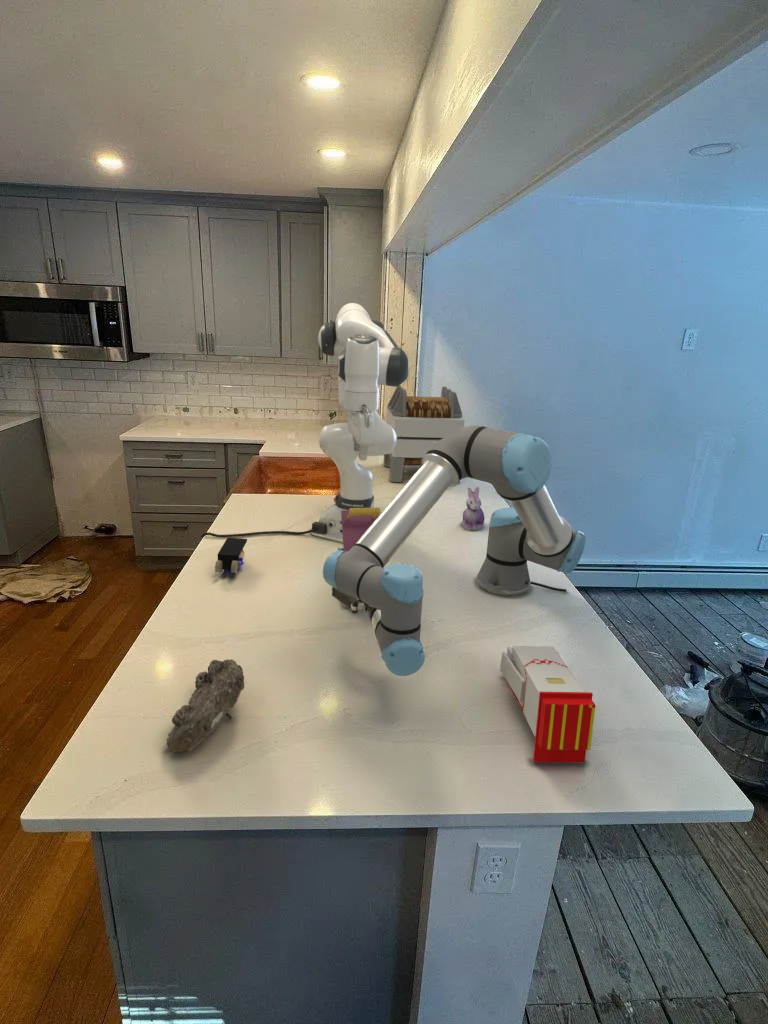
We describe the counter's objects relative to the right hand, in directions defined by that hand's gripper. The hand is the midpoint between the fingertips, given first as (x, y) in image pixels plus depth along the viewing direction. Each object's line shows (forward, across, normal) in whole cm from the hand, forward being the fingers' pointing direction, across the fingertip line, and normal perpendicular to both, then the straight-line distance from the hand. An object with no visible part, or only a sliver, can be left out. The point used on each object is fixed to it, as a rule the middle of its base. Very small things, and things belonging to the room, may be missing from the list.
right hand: (370, 572), depth 136 cm
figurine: (+64, +50, -16) cm, 83 cm away
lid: (+15, 0, +2) cm, 16 cm away
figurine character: (+37, -34, -15) cm, 53 cm away
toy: (-36, +28, -15) cm, 48 cm away
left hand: (+22, +1, +23) cm, 32 cm away
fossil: (-28, -35, -15) cm, 47 cm away
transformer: (+135, +49, -17) cm, 145 cm away
